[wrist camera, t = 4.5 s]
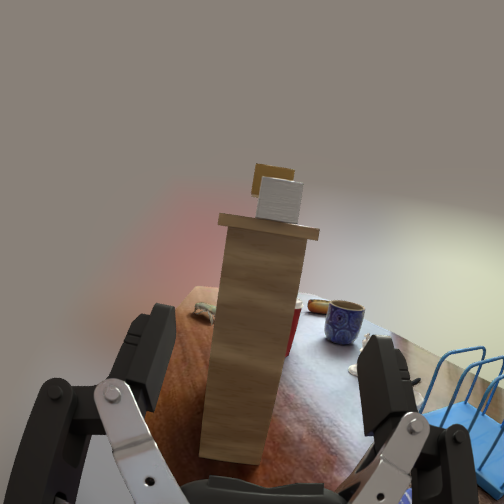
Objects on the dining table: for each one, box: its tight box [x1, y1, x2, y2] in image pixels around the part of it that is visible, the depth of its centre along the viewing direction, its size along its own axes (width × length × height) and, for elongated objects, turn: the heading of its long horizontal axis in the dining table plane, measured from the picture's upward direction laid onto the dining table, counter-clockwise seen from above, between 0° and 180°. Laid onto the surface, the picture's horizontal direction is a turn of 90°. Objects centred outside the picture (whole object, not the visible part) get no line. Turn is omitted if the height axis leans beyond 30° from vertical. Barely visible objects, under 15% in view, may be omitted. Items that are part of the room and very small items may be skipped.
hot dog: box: [308, 299, 330, 314], centre depth 118 cm, size 5×13×5 cm, turn 95°
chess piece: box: [348, 333, 370, 376], centre depth 68 cm, size 5×5×10 cm
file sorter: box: [419, 346, 504, 500], centre depth 35 cm, size 25×17×15 cm
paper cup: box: [285, 298, 303, 357], centre depth 75 cm, size 8×8×14 cm
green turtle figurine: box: [193, 302, 216, 325], centre depth 93 cm, size 9×11×5 cm
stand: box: [199, 213, 320, 465], centre depth 45 cm, size 25×10×31 cm, turn 0°
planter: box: [324, 300, 365, 345], centre depth 89 cm, size 11×11×11 cm
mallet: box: [251, 163, 303, 224], centre depth 33 cm, size 22×5×7 cm, turn 0°
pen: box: [411, 378, 421, 385], centre depth 60 cm, size 1×16×1 cm, turn 123°
